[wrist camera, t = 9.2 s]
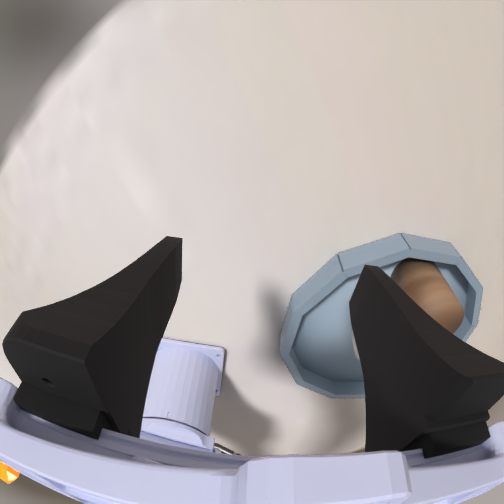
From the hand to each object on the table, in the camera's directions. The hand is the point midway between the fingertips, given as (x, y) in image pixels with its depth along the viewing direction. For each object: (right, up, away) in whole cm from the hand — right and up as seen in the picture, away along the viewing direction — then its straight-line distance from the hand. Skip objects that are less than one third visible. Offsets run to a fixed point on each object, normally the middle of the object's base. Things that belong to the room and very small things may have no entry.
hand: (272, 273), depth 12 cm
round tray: (+12, -6, +16) cm, 21 cm away
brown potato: (+13, -1, +12) cm, 18 cm away
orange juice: (-104, -85, +73) cm, 153 cm away
